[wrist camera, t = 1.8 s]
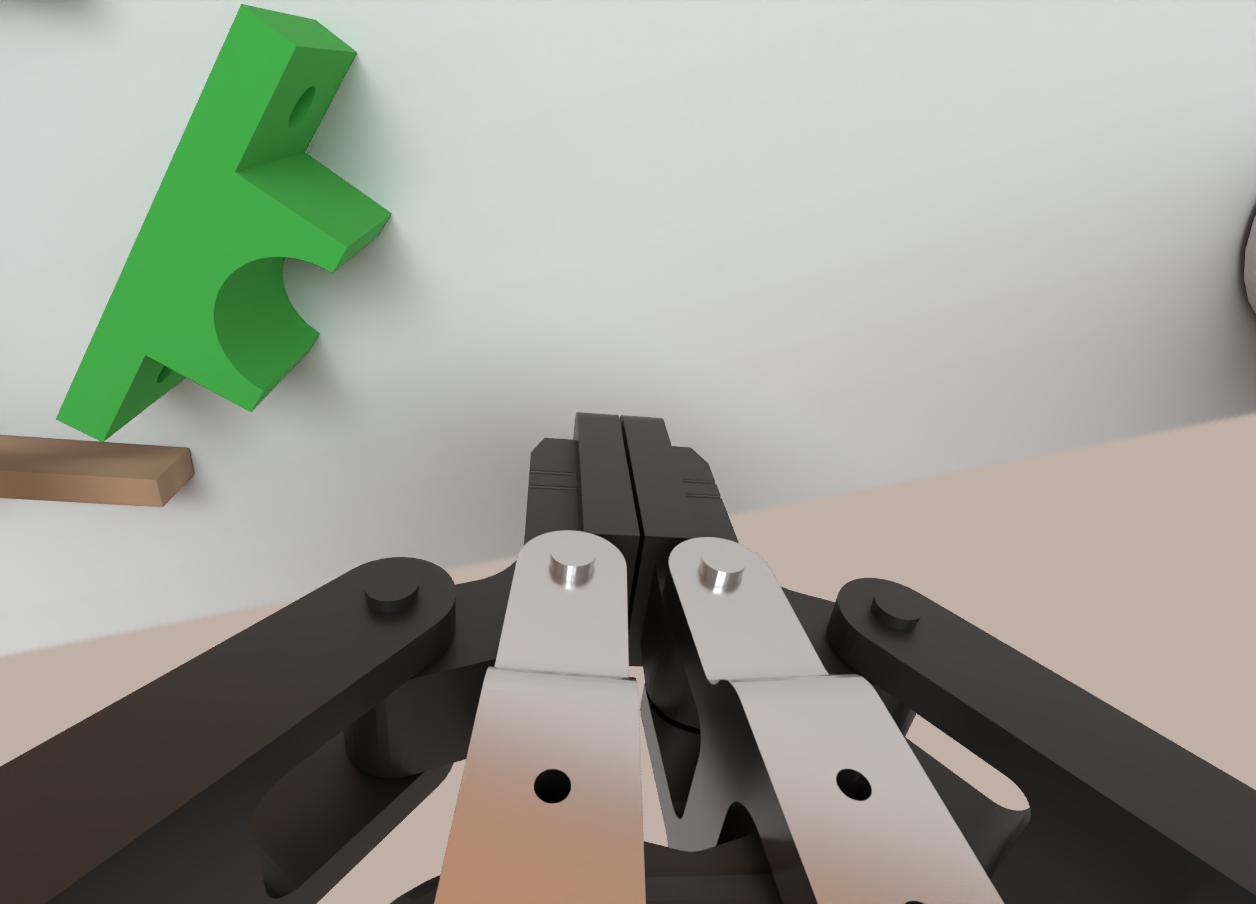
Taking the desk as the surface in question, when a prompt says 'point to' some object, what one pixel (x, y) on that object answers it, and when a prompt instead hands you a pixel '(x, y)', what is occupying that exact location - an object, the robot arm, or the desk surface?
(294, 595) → the desk surface
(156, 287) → the pipe clamp
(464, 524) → the desk surface
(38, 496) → the channel stop
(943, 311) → the desk surface
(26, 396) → the desk surface
